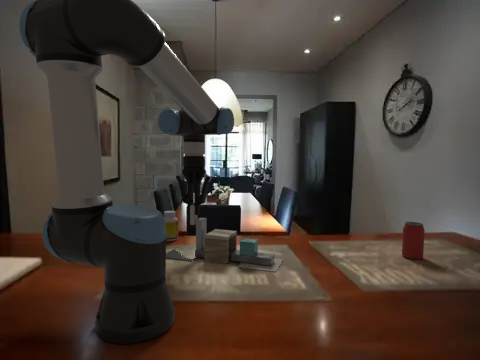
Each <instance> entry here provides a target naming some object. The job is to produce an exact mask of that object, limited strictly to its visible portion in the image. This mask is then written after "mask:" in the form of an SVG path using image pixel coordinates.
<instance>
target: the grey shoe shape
mask: <svg viewBox="0 0 480 360" xmlns="http://www.w3.org/2000/svg"><path fill="white" fill-rule="evenodd" d="M176 248H179V247H175V248H173V249H172V250H170V251H168V252H167V251H166V259H167V258H168V259H167V260H175V259H177V261H183V260H187V261H186V262H193V261H194V260H193V259H190V258H189V259H188V258H185V257H184V256H183V255H182V256H183V257H184V258H183V257H182V256H181V253H180V252H178V251H176V250H175V249H176ZM179 253H180V254H179ZM192 260H193V261H192Z"/></svg>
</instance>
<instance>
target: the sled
mask: <svg viewBox="0 0 480 360" xmlns="http://www.w3.org/2000/svg"><path fill="white" fill-rule="evenodd" d="M207 221H208V220H207V217H198V219H197V220H196V224H195V249H196V250H195V257H197V258H204V259H205V234H207V223H208V222H207ZM258 249H259V239H257V238H247V237H244V238H241V240H240V241H239V250H238V249H237V250H232V249H229V262H230V261H231V262H239V263H242V262H245V263H254V264H262V265H270V266H271V265H272V264H273V262H274V261H275V258H276V257H275V253H270V252H269V253H268V252H261V251H260V252H259V250H258Z"/></svg>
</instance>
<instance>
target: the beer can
mask: <svg viewBox="0 0 480 360" xmlns="http://www.w3.org/2000/svg"><path fill="white" fill-rule="evenodd" d="M425 231H426V230H425V228H424V224H423V223H421V222H417V221H415V222H414V221H406V222H405V223H404V225H403V227H402V243H401V245H402V247H401V255H402V256H403V257H404V258H405V257H406V259H408V258H409V260H413V261H415V260H416V261H417V260H422V259H423V258H424V250H425V249H424V248H425V246H424V245H425V233H426V232H425Z"/></svg>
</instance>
